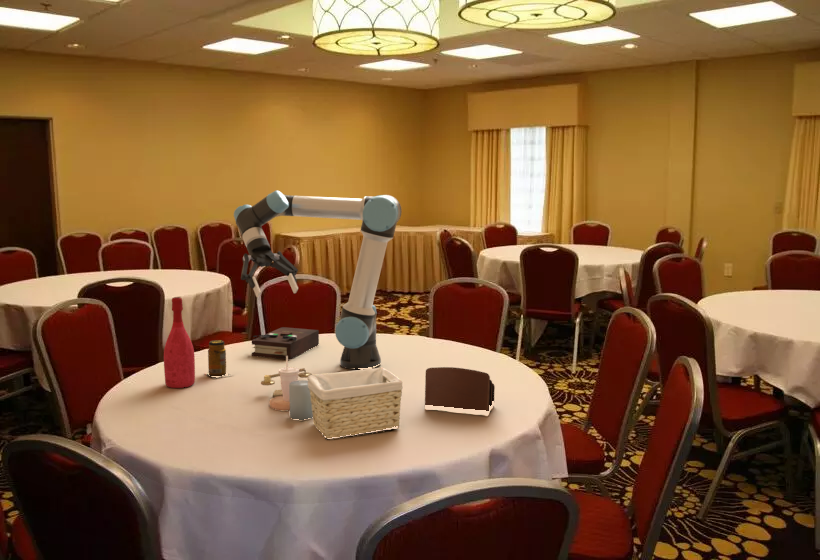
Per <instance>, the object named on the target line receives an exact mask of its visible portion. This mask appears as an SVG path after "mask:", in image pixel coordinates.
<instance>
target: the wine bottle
mask: <svg viewBox="0 0 820 560" xmlns="http://www.w3.org/2000/svg"><path fill="white" fill-rule="evenodd" d="M183 309H184V307H183V298H182V297H180V296H175V297H172V298H171V311H172V313H173V314H172V325H171V329H170V332H169V334H168V336H167V338H166V342H165V344H164V349H163V370H164V381H165V385H166V386H167V387H168V388H171V389H185V388H188V387H191V386H192V385H194V384H195V382H196V381H195V380H196V362H195V360H196V358H195V356H196V355H195V350H194V349H195V348H194V345H193V342H192V340H191V338H190V336H189V334H188V332H187V330H186V328H185V326H184V321H183V313H182V312H183ZM184 387H185V388H184Z"/></svg>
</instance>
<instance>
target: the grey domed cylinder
mask: <svg viewBox="0 0 820 560" xmlns="http://www.w3.org/2000/svg"><path fill="white" fill-rule="evenodd" d="M289 406H290V411H289V419H291V418H292V419H291V420H293V419H299V420H302V421H305V420H304V419H308V418H311V419H313V418H312V417H313V414H312V412H313V411H312V403H311V395H310V390H309V388H308V379H307V380H306V379H303V380H299V379H298V381H293V382H291V383H289ZM299 420H298V421H299Z"/></svg>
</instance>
